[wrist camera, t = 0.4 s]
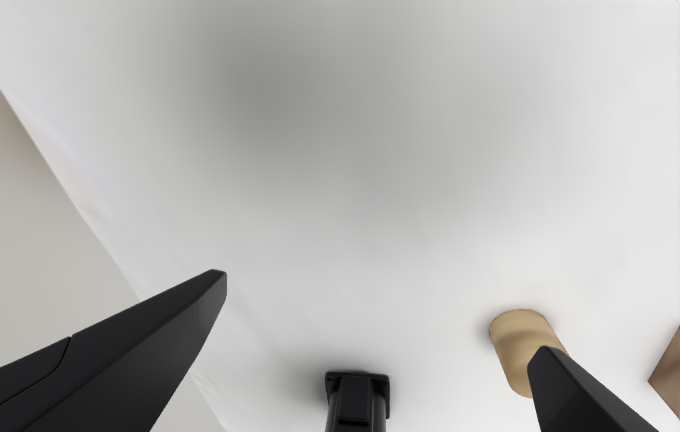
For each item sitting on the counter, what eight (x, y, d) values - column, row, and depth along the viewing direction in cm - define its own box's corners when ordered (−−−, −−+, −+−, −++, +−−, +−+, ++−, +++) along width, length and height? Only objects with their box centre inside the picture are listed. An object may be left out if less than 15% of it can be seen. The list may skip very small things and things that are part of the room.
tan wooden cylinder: (541, 349, 26) (570, 401, 22) (485, 347, 27) (503, 396, 23) (554, 309, 24) (588, 358, 20) (493, 307, 25) (514, 354, 21)
